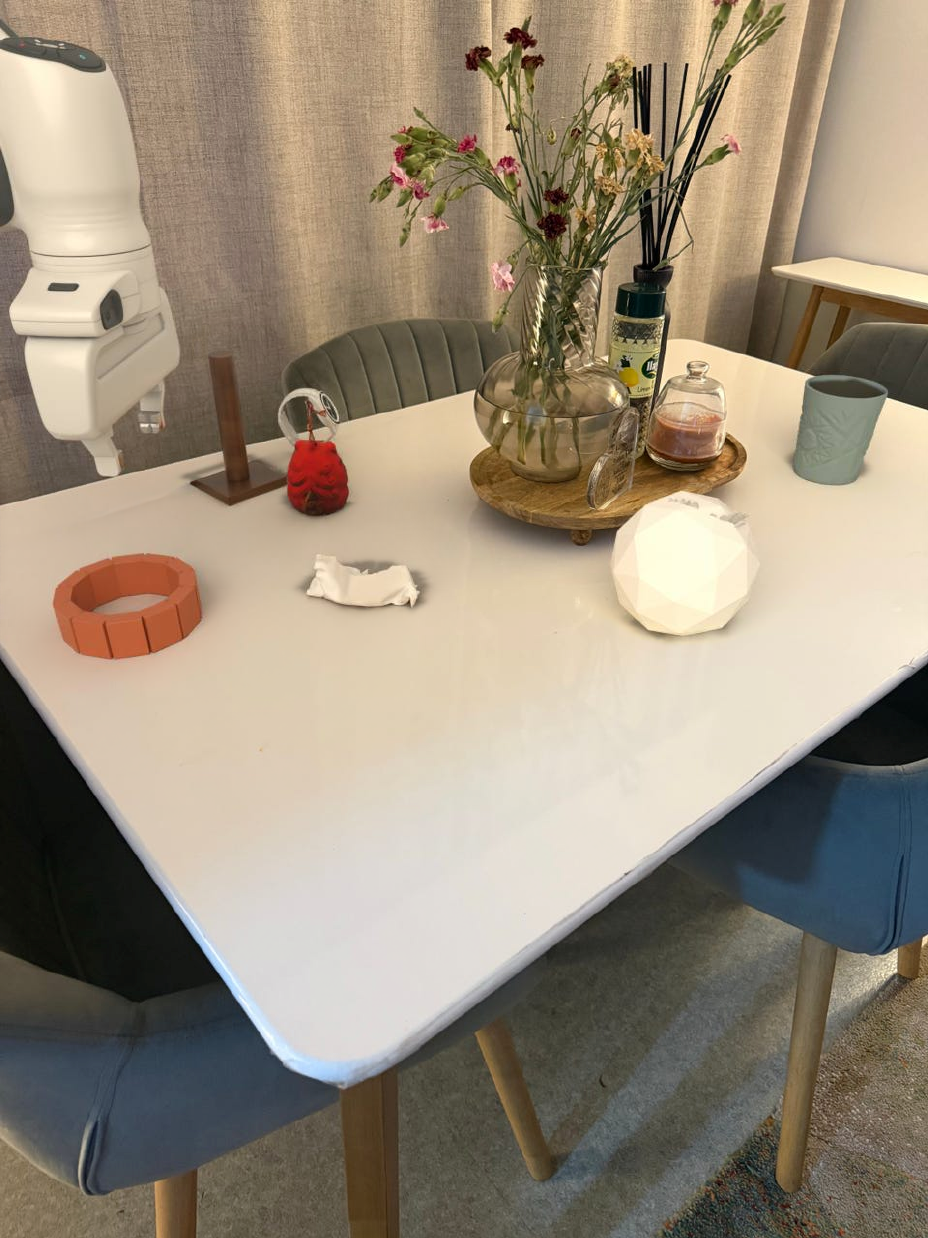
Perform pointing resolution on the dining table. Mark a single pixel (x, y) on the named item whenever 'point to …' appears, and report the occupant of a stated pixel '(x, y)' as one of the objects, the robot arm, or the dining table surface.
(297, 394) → the watch
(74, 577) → the hoop
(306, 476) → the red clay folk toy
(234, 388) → the peg stand
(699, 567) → the geodesic sphere
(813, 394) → the green embossed cup
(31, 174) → the robot arm
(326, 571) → the fabric
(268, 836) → the dining table surface
